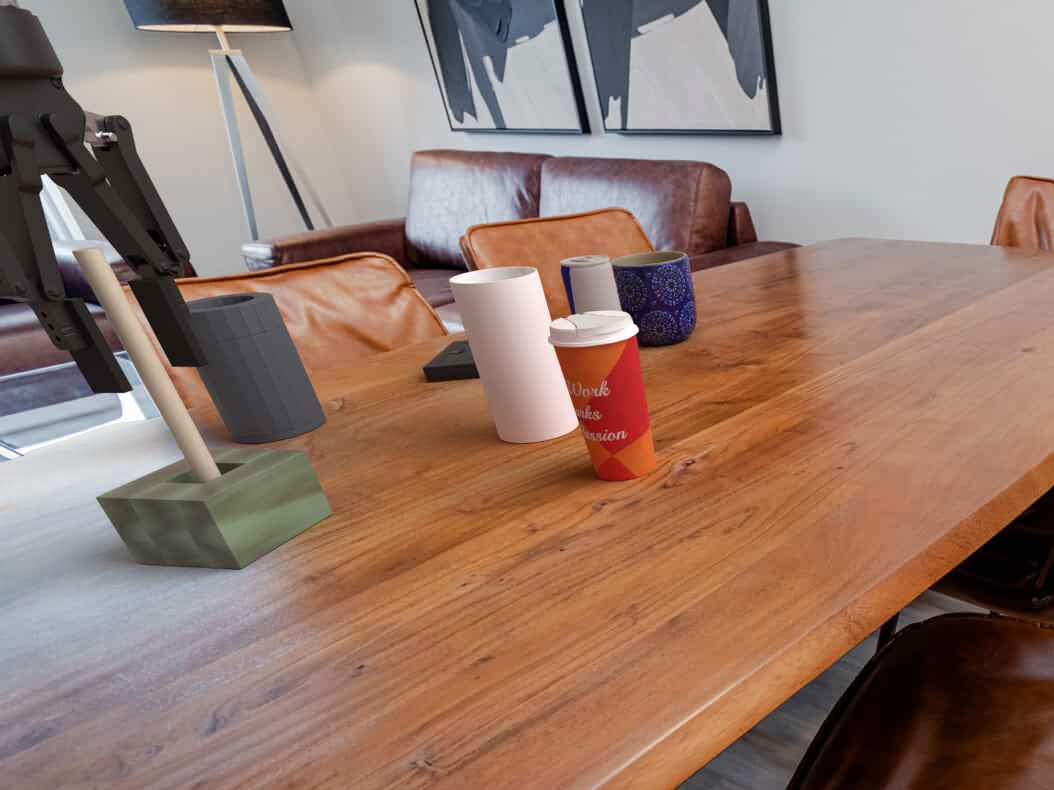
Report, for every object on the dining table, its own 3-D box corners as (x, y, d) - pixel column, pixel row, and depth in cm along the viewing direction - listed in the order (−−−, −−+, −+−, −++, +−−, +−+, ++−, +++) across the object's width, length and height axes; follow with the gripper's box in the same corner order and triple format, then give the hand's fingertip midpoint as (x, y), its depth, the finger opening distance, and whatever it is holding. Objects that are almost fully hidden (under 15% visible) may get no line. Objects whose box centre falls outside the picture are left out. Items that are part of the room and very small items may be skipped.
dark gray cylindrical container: (212, 443, 91) (143, 313, 83) (278, 414, 99) (220, 292, 91) (283, 444, 89) (220, 312, 82) (344, 415, 97) (292, 291, 90)
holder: (136, 564, 67) (94, 497, 64) (239, 509, 75) (206, 448, 72) (241, 569, 65) (203, 500, 62) (334, 513, 73) (304, 450, 70)
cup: (558, 411, 94) (517, 263, 86) (592, 427, 89) (551, 271, 81) (487, 431, 90) (436, 277, 81) (518, 449, 85) (466, 287, 76)
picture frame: (584, 343, 120) (457, 354, 118) (580, 327, 119) (452, 338, 117) (567, 369, 109) (427, 382, 107) (562, 352, 107) (420, 365, 106)
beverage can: (603, 381, 103) (572, 254, 95) (645, 381, 103) (617, 253, 95) (583, 395, 99) (548, 263, 91) (626, 395, 98) (596, 262, 90)
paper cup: (569, 472, 79) (527, 322, 71) (639, 447, 83) (606, 305, 76) (612, 493, 74) (572, 335, 67) (683, 465, 79) (653, 315, 71)
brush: (211, 544, 69) (46, 253, 57) (243, 528, 72) (91, 245, 59) (240, 546, 69) (80, 252, 56) (270, 530, 71) (123, 244, 59)
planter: (632, 333, 124) (615, 254, 118) (705, 327, 124) (691, 248, 118) (619, 353, 115) (599, 268, 109) (698, 346, 115) (683, 262, 109)
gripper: (-196, -13, 42) (71, 421, 54) (143, 10, 57) (291, 344, 70) (-305, -2, 43) (-20, 420, 56) (56, 17, 59) (216, 344, 71)
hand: (153, 377), depth 63 cm, fingers open, 6 cm apart
